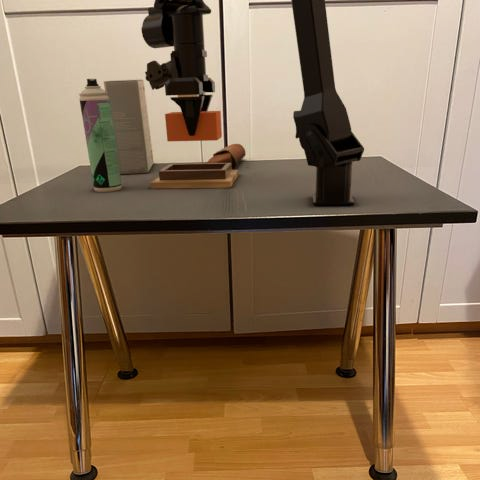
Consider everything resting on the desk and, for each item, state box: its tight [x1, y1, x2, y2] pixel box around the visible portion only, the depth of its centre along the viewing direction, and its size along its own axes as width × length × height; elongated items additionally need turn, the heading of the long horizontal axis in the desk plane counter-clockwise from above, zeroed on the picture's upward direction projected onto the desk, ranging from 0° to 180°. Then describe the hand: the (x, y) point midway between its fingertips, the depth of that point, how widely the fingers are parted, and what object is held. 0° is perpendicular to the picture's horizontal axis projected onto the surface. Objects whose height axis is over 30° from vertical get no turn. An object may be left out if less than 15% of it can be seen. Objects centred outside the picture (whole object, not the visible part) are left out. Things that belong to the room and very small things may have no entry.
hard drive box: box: [103, 78, 154, 175], centre depth 115 cm, size 16×8×20 cm, turn 5°
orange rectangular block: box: [164, 110, 223, 142], centre depth 96 cm, size 6×10×5 cm, turn 84°
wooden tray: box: [150, 162, 240, 190], centre depth 101 cm, size 14×16×3 cm
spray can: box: [78, 78, 123, 193], centre depth 93 cm, size 6×6×20 cm
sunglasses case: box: [206, 143, 246, 170], centre depth 120 cm, size 18×7×7 cm
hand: (195, 134), depth 97 cm, fingers closed on orange rectangular block, 6 cm apart
